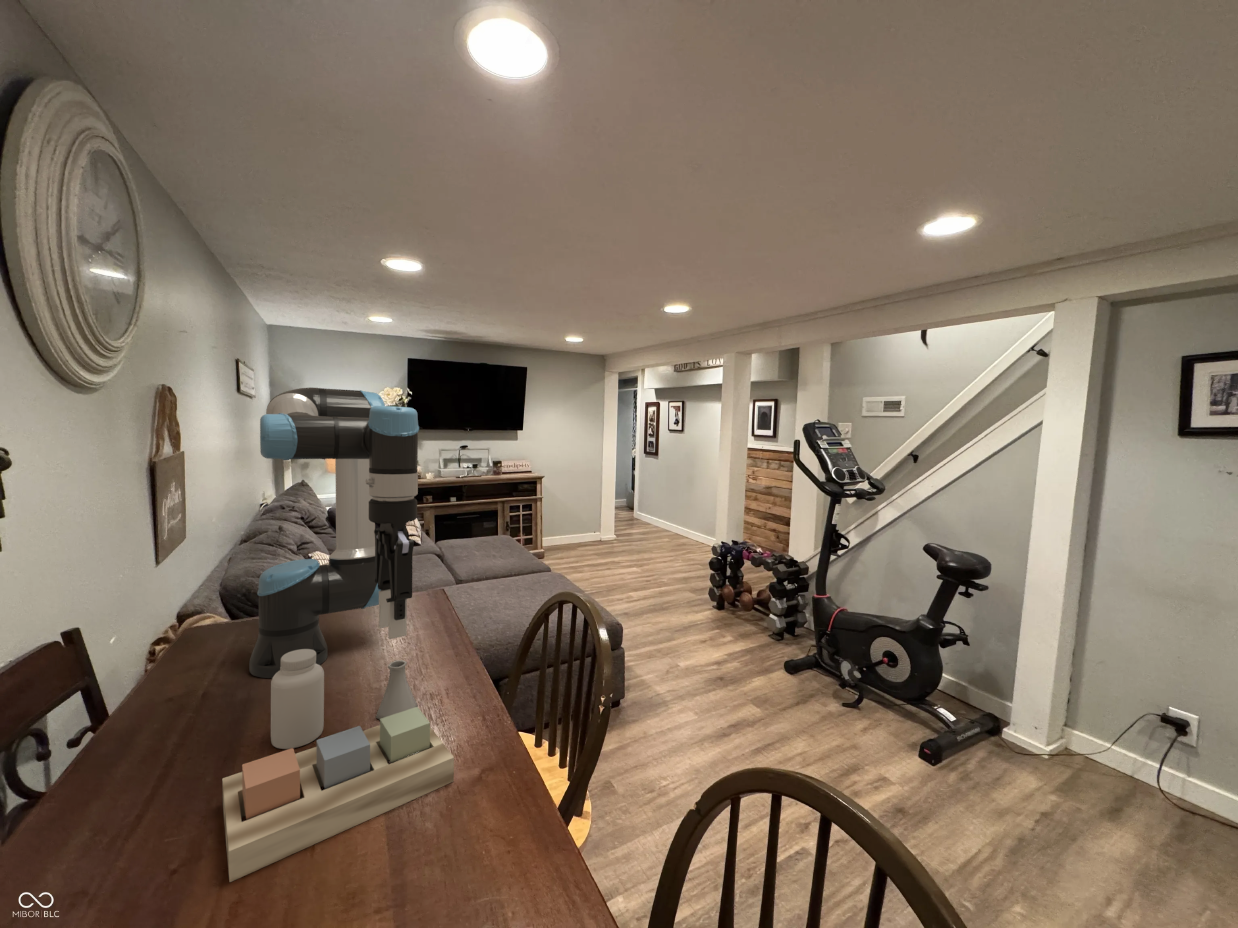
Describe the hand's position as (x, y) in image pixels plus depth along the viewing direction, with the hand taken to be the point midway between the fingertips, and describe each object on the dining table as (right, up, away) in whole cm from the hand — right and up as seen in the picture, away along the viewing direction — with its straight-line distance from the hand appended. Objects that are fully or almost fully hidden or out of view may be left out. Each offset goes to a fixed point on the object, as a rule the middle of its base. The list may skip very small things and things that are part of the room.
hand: (392, 630), depth 85 cm
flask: (-4, -20, +11) cm, 24 cm away
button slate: (-3, -17, -10) cm, 20 cm away
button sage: (+4, -17, -4) cm, 18 cm away
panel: (-3, -21, -10) cm, 24 cm away
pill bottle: (-18, -20, +3) cm, 27 cm away
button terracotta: (-10, -18, -16) cm, 26 cm away
